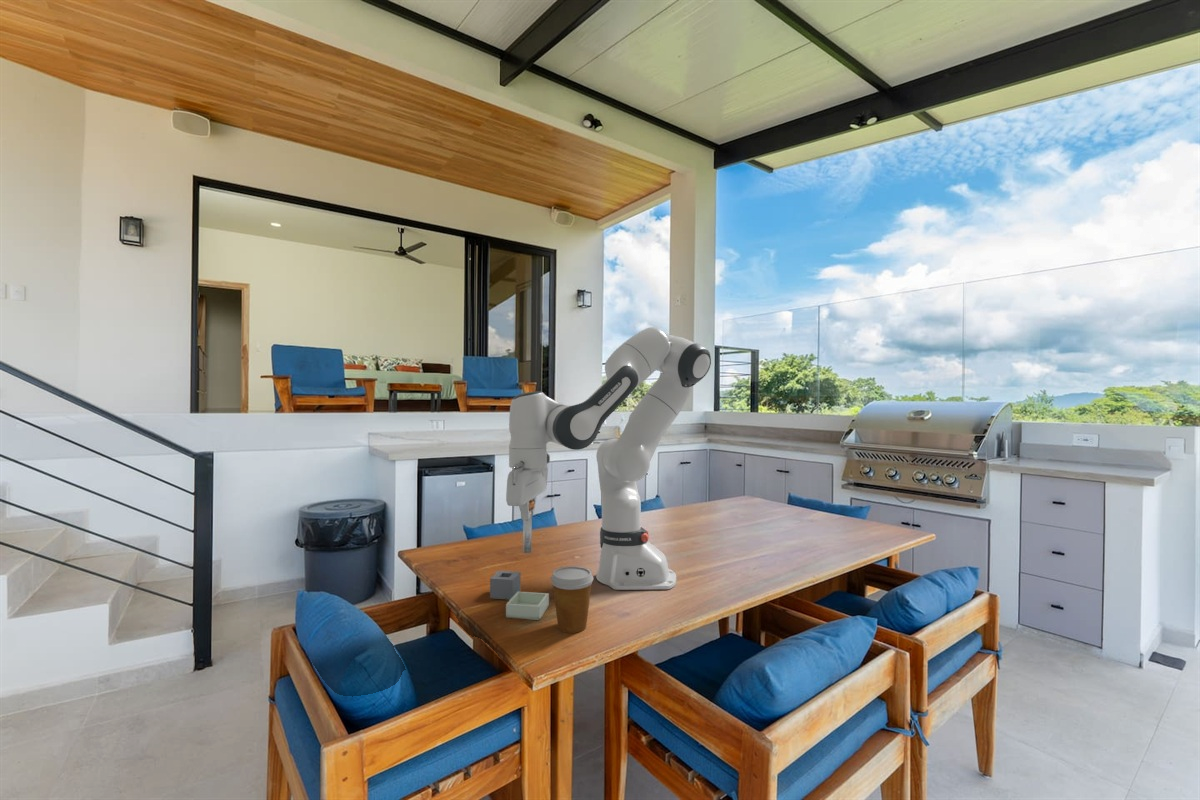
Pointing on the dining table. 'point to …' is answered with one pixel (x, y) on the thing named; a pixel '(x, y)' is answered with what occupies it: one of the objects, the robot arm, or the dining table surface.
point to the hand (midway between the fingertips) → (527, 517)
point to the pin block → (505, 584)
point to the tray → (527, 605)
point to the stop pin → (528, 531)
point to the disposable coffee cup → (572, 597)
